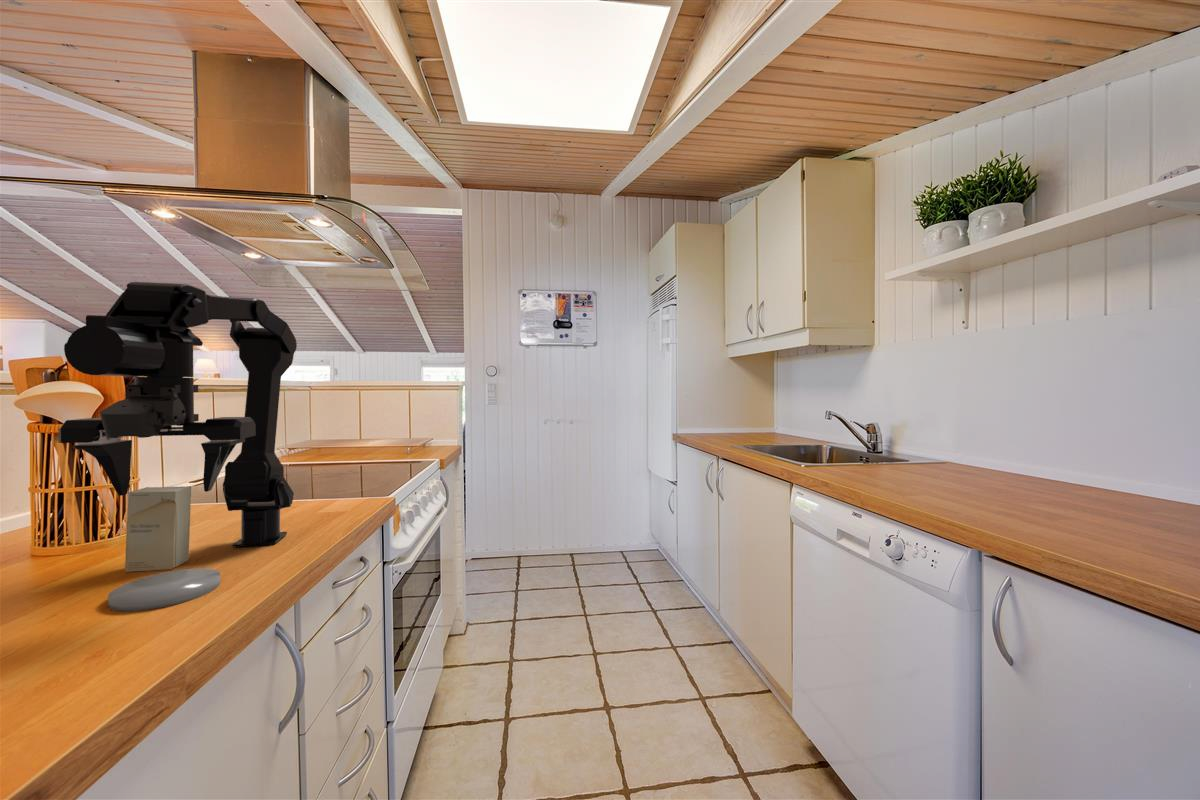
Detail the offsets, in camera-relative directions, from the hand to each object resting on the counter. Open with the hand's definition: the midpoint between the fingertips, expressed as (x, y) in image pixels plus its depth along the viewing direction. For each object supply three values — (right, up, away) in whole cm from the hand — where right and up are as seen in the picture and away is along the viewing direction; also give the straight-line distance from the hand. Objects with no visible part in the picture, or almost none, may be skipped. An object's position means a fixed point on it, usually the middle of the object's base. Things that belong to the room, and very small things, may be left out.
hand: (166, 492), depth 61 cm
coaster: (0, -14, +1) cm, 14 cm away
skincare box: (-11, -14, +10) cm, 20 cm away
